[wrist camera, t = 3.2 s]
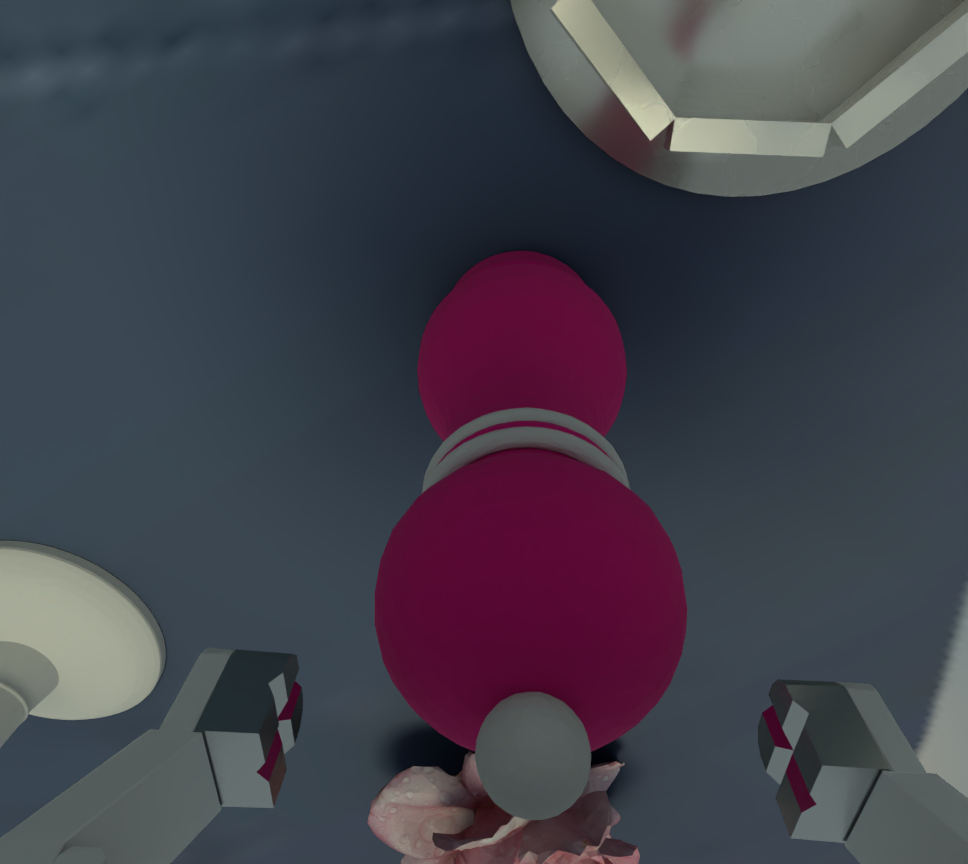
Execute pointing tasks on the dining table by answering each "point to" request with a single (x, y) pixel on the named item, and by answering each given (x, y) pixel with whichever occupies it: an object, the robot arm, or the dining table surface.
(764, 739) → the robot arm
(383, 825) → the flower
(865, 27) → the silver metal plate
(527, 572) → the pepper mill
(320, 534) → the dining table surface
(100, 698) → the candlestick
